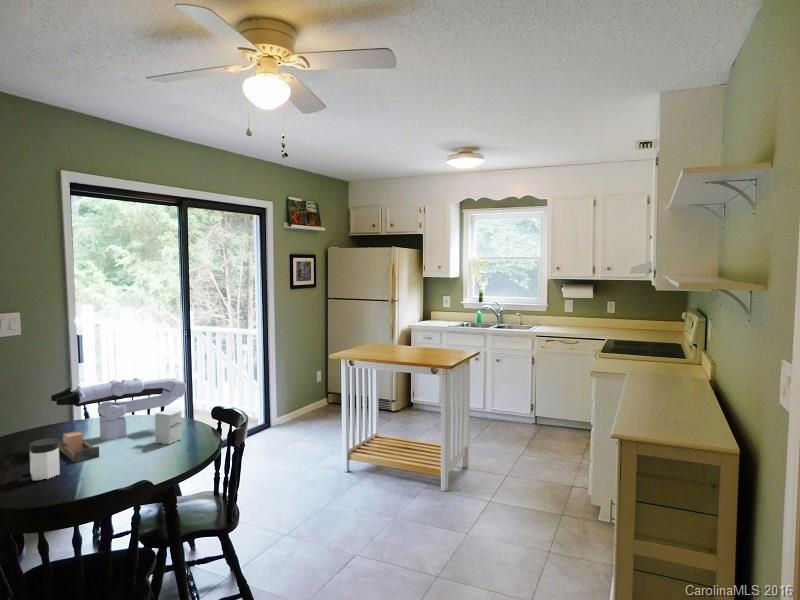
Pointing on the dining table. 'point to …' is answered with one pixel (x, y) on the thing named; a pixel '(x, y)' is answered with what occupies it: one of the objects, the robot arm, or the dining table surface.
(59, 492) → the dining table surface
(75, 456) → the brown wooden tray
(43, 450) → the jar
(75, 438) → the terracotta block
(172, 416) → the supplement box
